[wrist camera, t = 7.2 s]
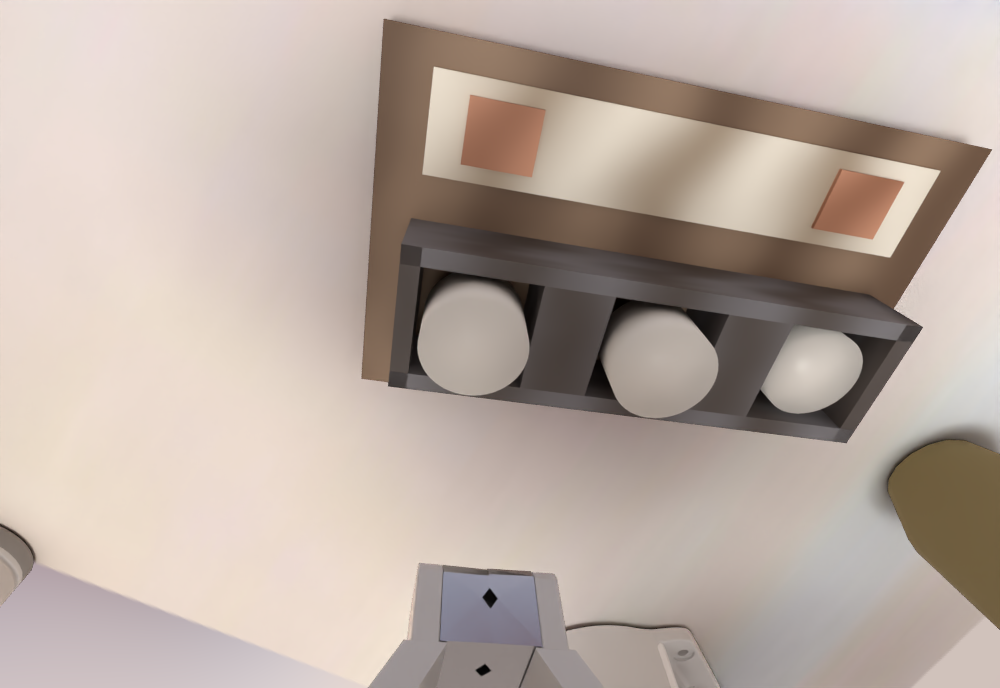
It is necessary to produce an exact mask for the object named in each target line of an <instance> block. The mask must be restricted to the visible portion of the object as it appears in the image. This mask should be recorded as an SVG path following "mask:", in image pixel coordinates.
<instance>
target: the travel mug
mask: <svg viewBox="0 0 1000 688" xmlns="http://www.w3.org/2000/svg"><path fill="white" fill-rule="evenodd" d="M32 567H33V556H32V553H31V551H30V549H29V548H28V546H27V545H26V544H25V543H24V542H23V541H22V540H21V539H20V538H19V537H18V536H16V535H15V534H14V533H12V532H10V531H9V530H7V529H5V528H3V527H1V526H0V606H1V605H2V604H3V603H4V602H5V601H6V599H7V598H8V597H9V596H10V595H11V593H12V592H13V591H14V590H15V589H16V588H17V587H18V585H19V584H20V583H21V582H22V581H23V580H24V578H25V577H26V576H27V575H28V573H29V572H30V571H31V570H32Z"/></svg>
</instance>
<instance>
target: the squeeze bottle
mask: <svg viewBox="0 0 1000 688" xmlns="http://www.w3.org/2000/svg"><path fill="white" fill-rule="evenodd" d="M888 493H889V495H890V498H891V500H892V502H893V505H894V507H895V509H896V512H897V514H898V516H899V519H900V521H901V523H902V526H903V528H904V530H905V533H906V535H907V537H908V540H909V541H910V543H911V544H912V545H913V547H914V548H915V550H916V551H917V553H919V554H920V555H921V556H922V557H923V558H924V559H925V560H926V561H927V562H928V563H929V564H930V565H931V566H932V567H933V568H935V569H936V570H937V571H938V572H939V573H940V574H941V575H942V576H943V577H944V578H945V579H946V580H947V581H948V582H949V583H950V584H952V585H953V586H954V587H955V588H956V589H957V590H958V591H959V592H960V593H961V594H962V595H963V596H964V597H965V598H966V599H967V600H969V601H970V602H971V603H972V604H973V605H974V606H975V607H976V608H977V609H978V610H979V611H980V612H981V613H982V614H983V615H985V616H986V617H987V618H988V619H989V620H990V621H991V622H992V623H993V624H994V625H995V626H996V627H997V628H998V629H999V630H1000V454H998V453H996V452H993V451H991V450H988V449H986V448H983V447H981V446H978V445H976V444H973V443H970V442H968V441H965V440H945V441H941V442H937V443H933V444H929V445H927V446H925V447H923V448H921V449H919V450H917V451H916V452H914V453H912V454H910V455H909V456H908V457H907V458H906V459H904V460H903V461H902V462H901V463H900V464H899V465H898V466H897V467H896V468H895V470H894V471H893V473H892V475H891V476H890V478H889V481H888Z"/></svg>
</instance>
